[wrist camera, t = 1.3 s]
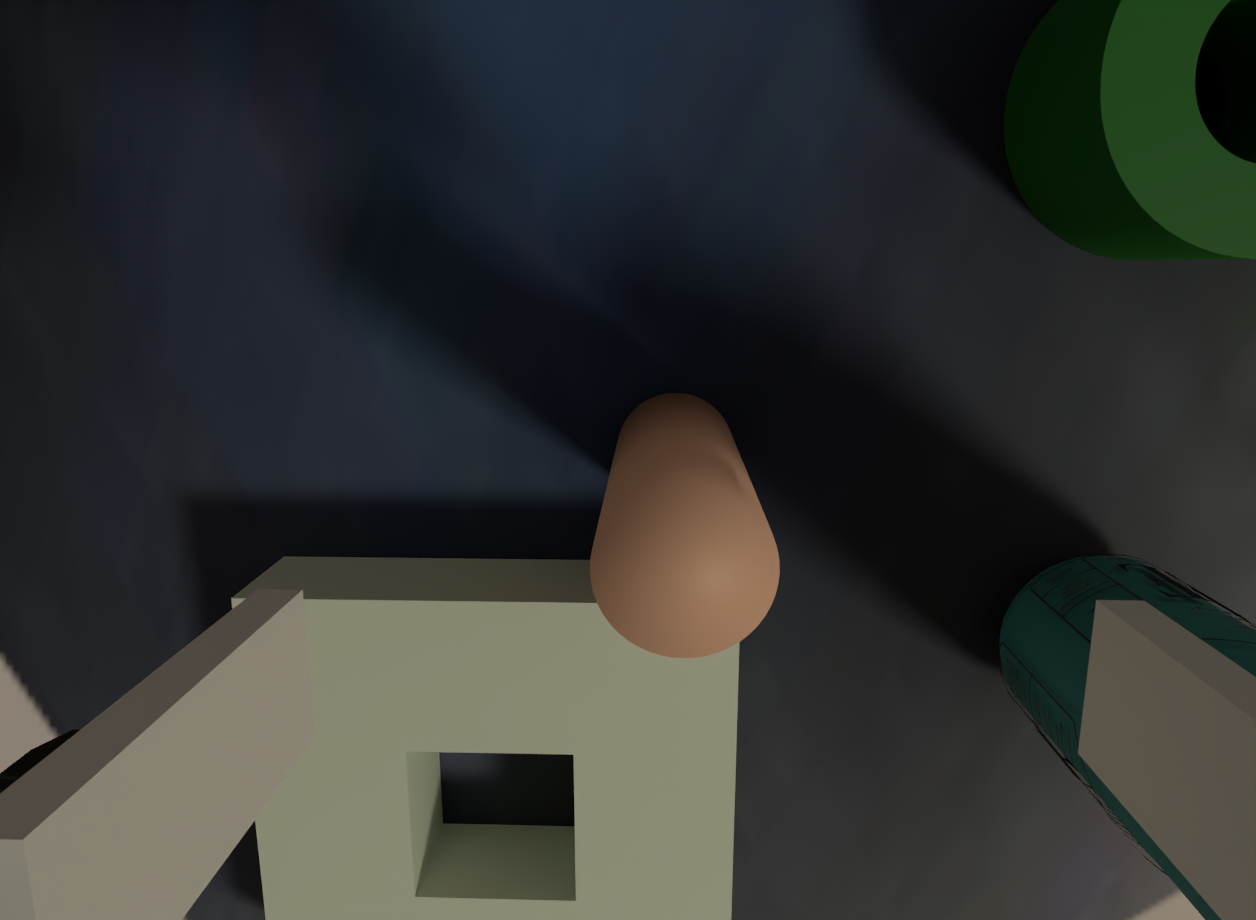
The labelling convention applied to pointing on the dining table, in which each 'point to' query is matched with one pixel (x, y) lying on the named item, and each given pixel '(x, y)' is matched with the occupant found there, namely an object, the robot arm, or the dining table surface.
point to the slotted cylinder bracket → (1137, 128)
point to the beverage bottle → (1060, 648)
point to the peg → (681, 534)
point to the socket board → (495, 750)
